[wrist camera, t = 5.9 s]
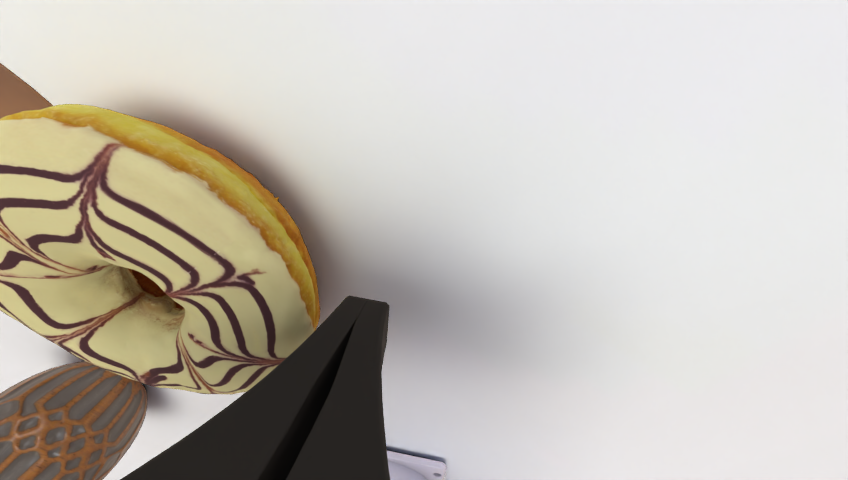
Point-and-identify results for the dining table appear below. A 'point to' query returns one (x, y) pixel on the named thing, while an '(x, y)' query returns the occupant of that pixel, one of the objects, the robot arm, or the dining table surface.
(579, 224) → the dining table surface
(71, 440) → the vase
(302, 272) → the decorated donut
